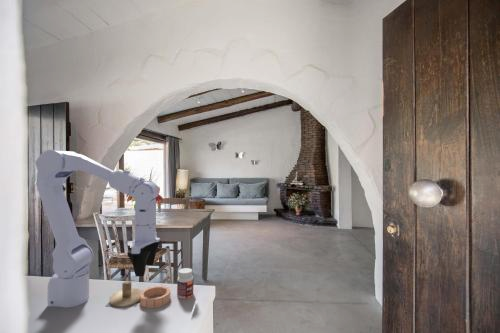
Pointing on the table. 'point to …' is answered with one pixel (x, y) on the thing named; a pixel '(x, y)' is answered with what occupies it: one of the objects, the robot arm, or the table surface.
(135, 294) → the lid
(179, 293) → the pill bottle
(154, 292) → the bowl
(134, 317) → the table surface
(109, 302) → the coaster
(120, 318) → the table surface
